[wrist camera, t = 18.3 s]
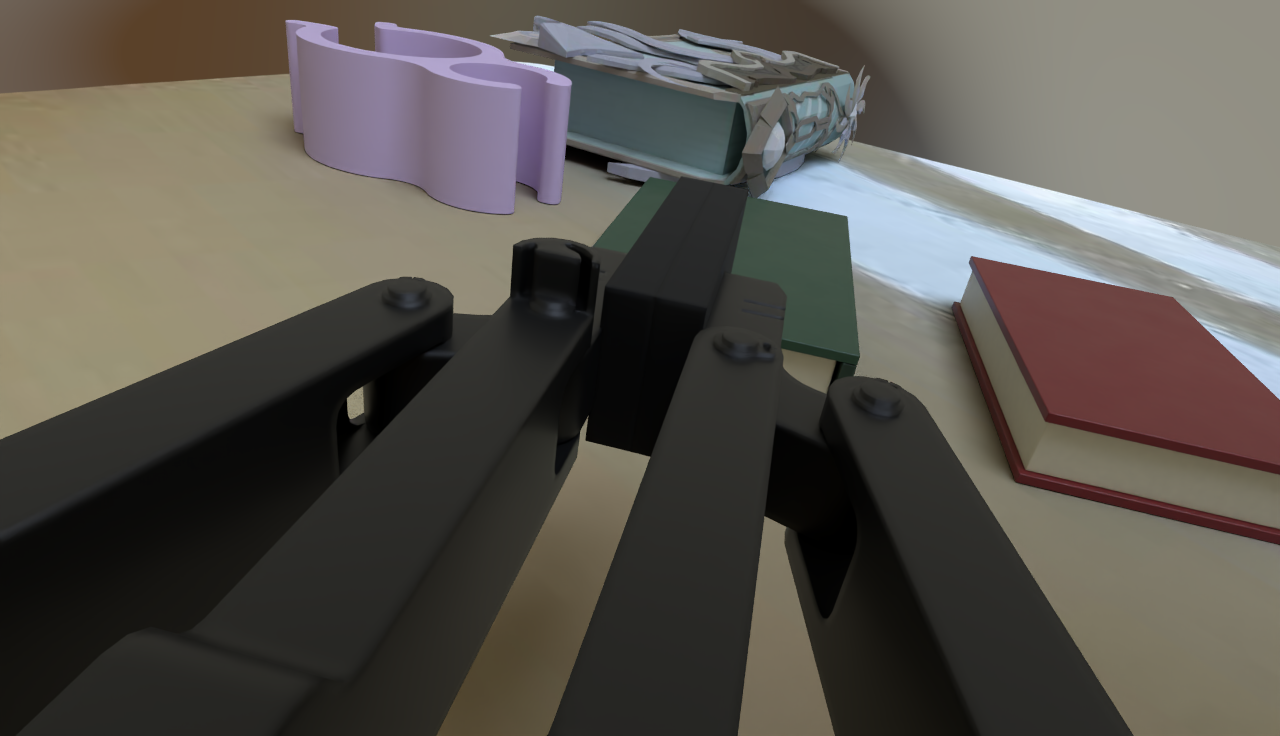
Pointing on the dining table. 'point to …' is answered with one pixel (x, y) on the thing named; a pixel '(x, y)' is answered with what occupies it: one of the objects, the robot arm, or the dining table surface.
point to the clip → (430, 114)
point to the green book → (781, 276)
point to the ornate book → (694, 102)
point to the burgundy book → (1122, 399)
